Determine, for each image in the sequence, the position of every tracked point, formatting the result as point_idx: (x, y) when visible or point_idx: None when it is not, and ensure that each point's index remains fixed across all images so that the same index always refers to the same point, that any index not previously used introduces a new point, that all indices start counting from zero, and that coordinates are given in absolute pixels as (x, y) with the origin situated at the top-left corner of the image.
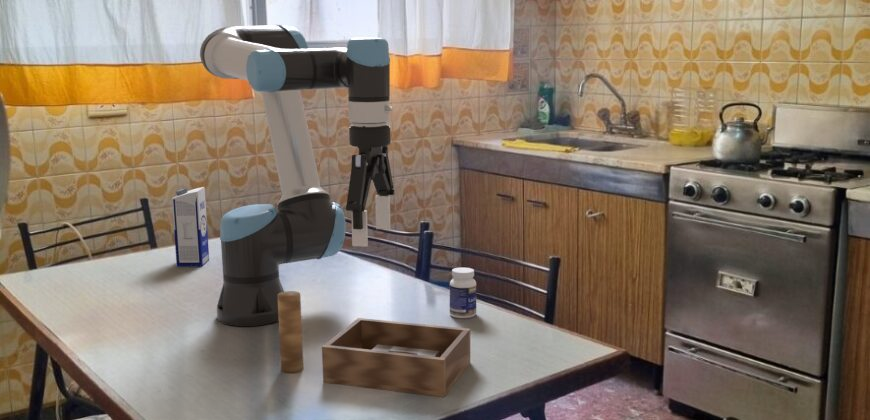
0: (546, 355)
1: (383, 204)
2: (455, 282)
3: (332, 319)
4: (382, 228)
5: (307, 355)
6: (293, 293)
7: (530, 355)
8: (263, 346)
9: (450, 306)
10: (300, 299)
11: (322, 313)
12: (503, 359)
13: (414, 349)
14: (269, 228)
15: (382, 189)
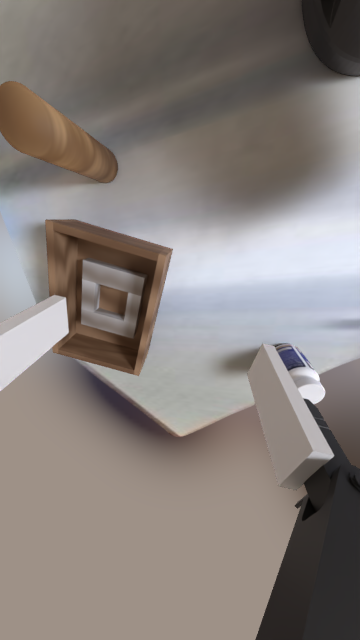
0: (168, 401)
1: (277, 433)
2: (292, 376)
3: (307, 186)
4: (255, 360)
5: (152, 177)
6: (31, 132)
7: (167, 392)
8: (186, 75)
9: (285, 350)
10: (42, 157)
11: (347, 159)
12: (157, 376)
13: (134, 317)
14: None
15: (307, 521)
